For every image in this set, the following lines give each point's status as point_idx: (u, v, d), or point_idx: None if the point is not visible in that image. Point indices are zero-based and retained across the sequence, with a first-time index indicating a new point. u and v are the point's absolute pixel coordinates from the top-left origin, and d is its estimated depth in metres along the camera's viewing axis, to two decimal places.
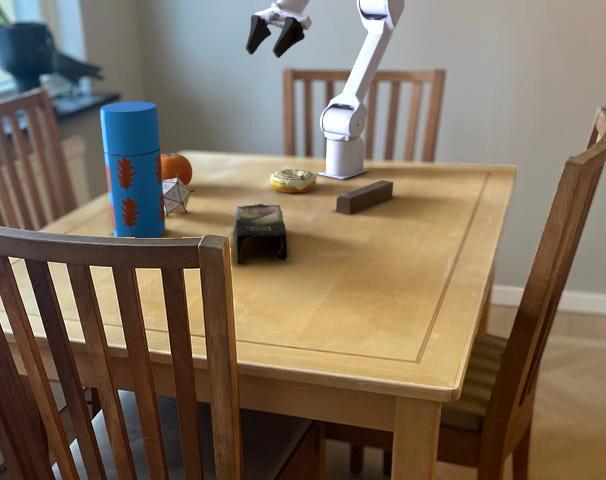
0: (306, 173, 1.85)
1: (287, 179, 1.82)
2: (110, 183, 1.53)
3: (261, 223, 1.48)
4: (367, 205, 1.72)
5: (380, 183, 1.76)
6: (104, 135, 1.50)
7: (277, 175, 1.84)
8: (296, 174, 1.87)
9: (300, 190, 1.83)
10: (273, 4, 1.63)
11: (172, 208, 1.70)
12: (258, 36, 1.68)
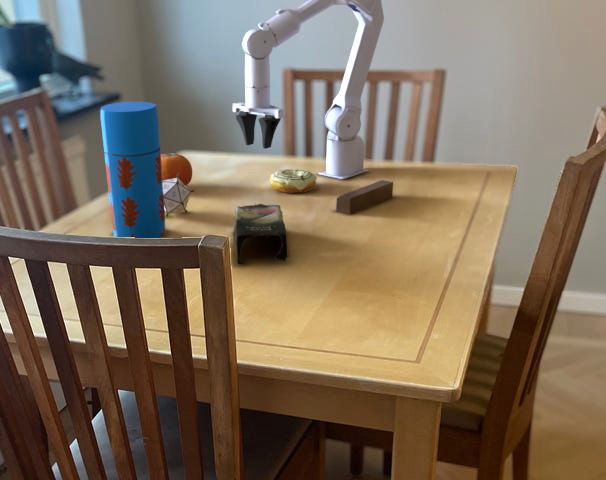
0: (306, 173, 1.85)
1: (287, 179, 1.82)
2: (110, 183, 1.53)
3: (261, 223, 1.48)
4: (367, 205, 1.72)
5: (380, 183, 1.76)
6: (104, 135, 1.50)
7: (277, 175, 1.84)
8: (296, 174, 1.87)
9: (300, 190, 1.83)
10: (245, 110, 1.83)
11: (172, 208, 1.70)
12: (250, 127, 1.90)
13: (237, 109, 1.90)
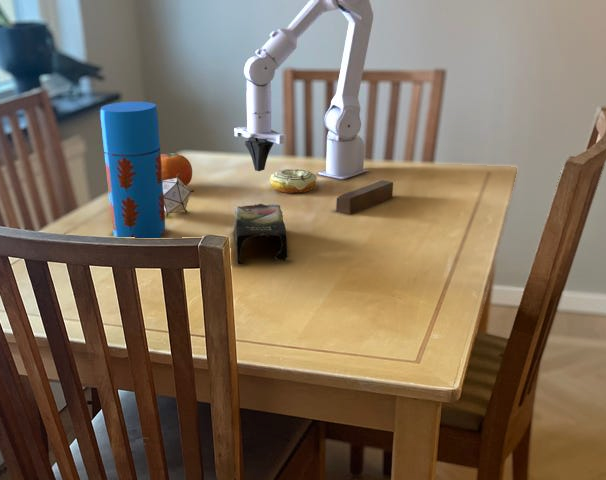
0: (306, 173, 1.85)
1: (287, 179, 1.82)
2: (110, 183, 1.53)
3: (261, 223, 1.48)
4: (367, 205, 1.72)
5: (380, 183, 1.76)
6: (104, 135, 1.50)
7: (277, 175, 1.84)
8: (296, 174, 1.87)
9: (300, 190, 1.83)
10: (247, 136, 1.86)
11: (172, 208, 1.70)
12: None
13: (239, 134, 1.92)
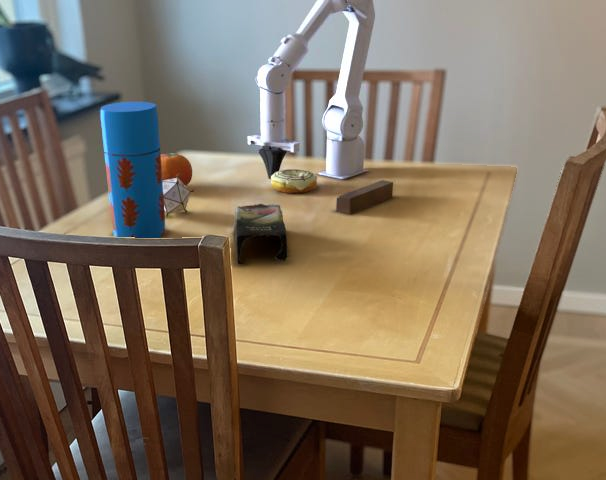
0: (307, 173, 1.85)
1: (288, 180, 1.82)
2: (110, 183, 1.53)
3: (261, 223, 1.48)
4: (367, 205, 1.72)
5: (380, 183, 1.76)
6: (104, 135, 1.50)
7: (278, 175, 1.84)
8: (297, 174, 1.87)
9: (300, 190, 1.83)
10: (260, 144, 1.84)
11: (172, 208, 1.70)
12: None
13: (252, 141, 1.90)
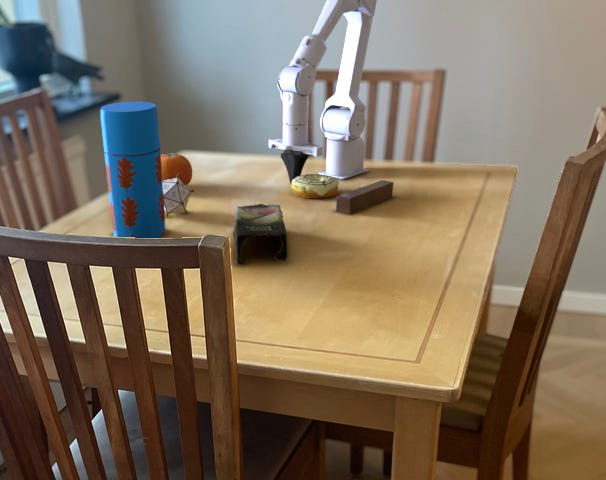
0: (328, 178, 1.80)
1: (308, 185, 1.78)
2: (110, 183, 1.53)
3: (261, 223, 1.48)
4: (367, 205, 1.72)
5: (380, 183, 1.76)
6: (104, 135, 1.50)
7: (298, 180, 1.80)
8: (318, 179, 1.83)
9: (321, 196, 1.78)
10: (283, 148, 1.80)
11: (172, 208, 1.70)
12: None
13: (273, 145, 1.86)
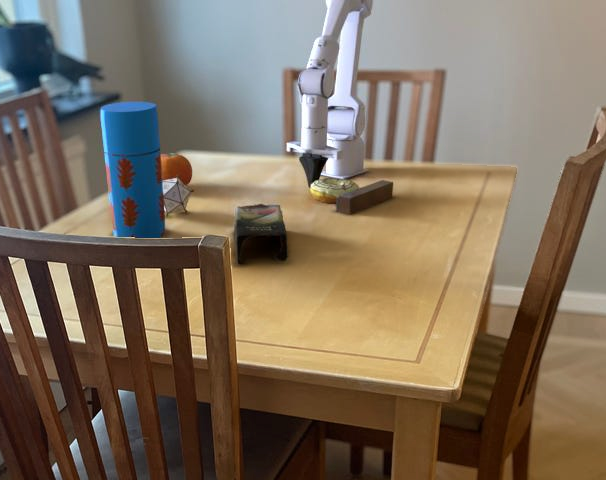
0: (348, 182, 1.77)
1: (328, 189, 1.74)
2: (110, 183, 1.53)
3: (261, 223, 1.48)
4: (367, 205, 1.72)
5: (380, 183, 1.76)
6: (104, 135, 1.50)
7: (317, 184, 1.77)
8: (337, 183, 1.79)
9: None
10: (302, 151, 1.76)
11: (172, 208, 1.70)
12: None
13: (291, 149, 1.83)
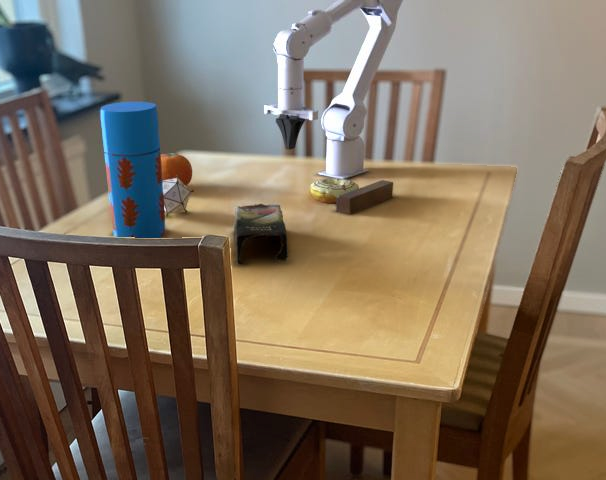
0: (348, 182, 1.77)
1: (328, 189, 1.74)
2: (110, 183, 1.53)
3: (261, 223, 1.48)
4: (367, 205, 1.72)
5: (380, 183, 1.76)
6: (104, 135, 1.50)
7: (317, 184, 1.77)
8: (338, 183, 1.79)
9: None
10: (278, 112, 1.80)
11: (172, 208, 1.70)
12: None
13: (268, 111, 1.86)
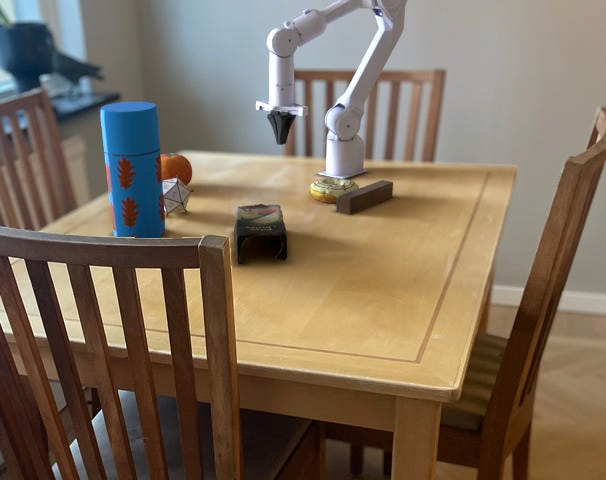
0: (348, 182, 1.77)
1: (328, 189, 1.74)
2: (110, 183, 1.53)
3: (261, 223, 1.48)
4: (367, 205, 1.72)
5: (380, 183, 1.76)
6: (104, 135, 1.50)
7: (317, 184, 1.77)
8: (338, 183, 1.79)
9: None
10: (269, 108, 1.85)
11: (172, 208, 1.70)
12: None
13: (260, 107, 1.91)
